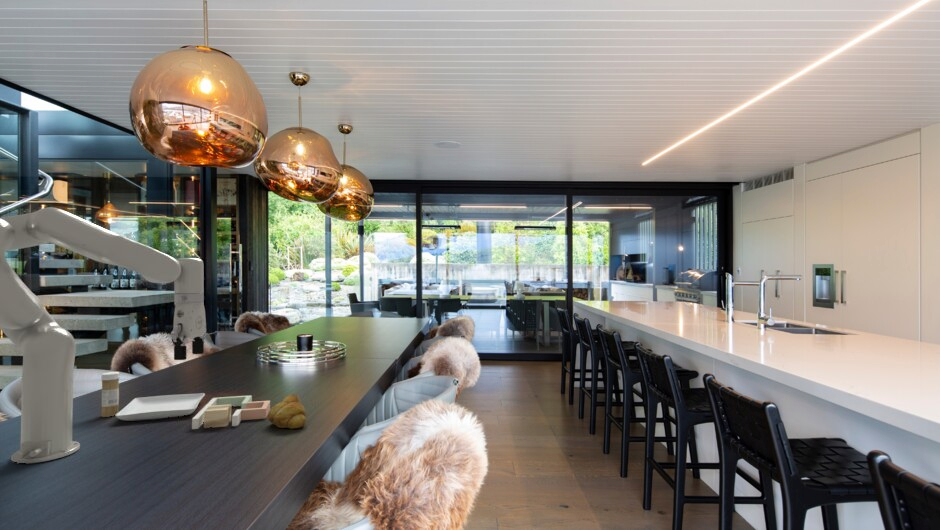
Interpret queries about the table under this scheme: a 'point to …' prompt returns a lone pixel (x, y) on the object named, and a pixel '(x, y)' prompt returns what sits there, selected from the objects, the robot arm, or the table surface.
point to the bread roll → (288, 413)
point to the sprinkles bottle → (110, 393)
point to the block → (217, 416)
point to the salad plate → (160, 407)
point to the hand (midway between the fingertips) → (189, 356)
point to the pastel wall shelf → (245, 413)
